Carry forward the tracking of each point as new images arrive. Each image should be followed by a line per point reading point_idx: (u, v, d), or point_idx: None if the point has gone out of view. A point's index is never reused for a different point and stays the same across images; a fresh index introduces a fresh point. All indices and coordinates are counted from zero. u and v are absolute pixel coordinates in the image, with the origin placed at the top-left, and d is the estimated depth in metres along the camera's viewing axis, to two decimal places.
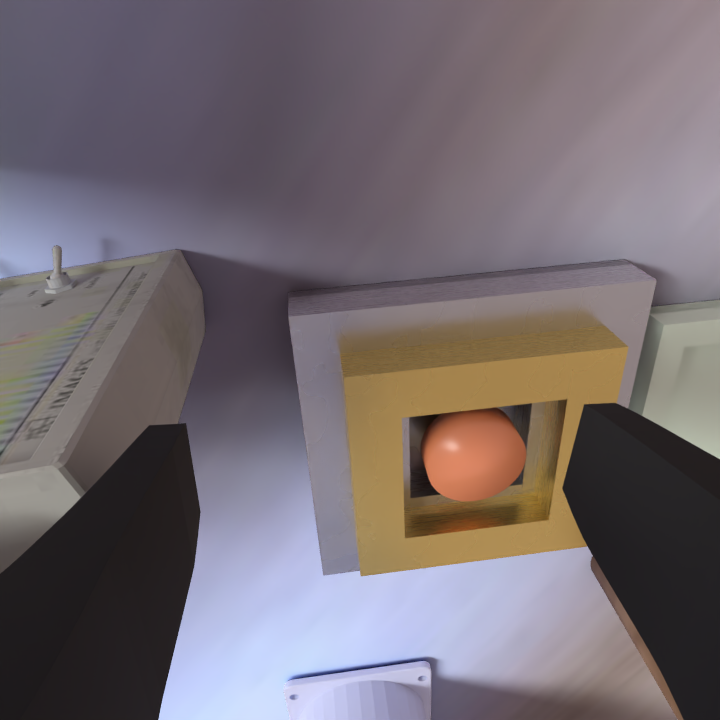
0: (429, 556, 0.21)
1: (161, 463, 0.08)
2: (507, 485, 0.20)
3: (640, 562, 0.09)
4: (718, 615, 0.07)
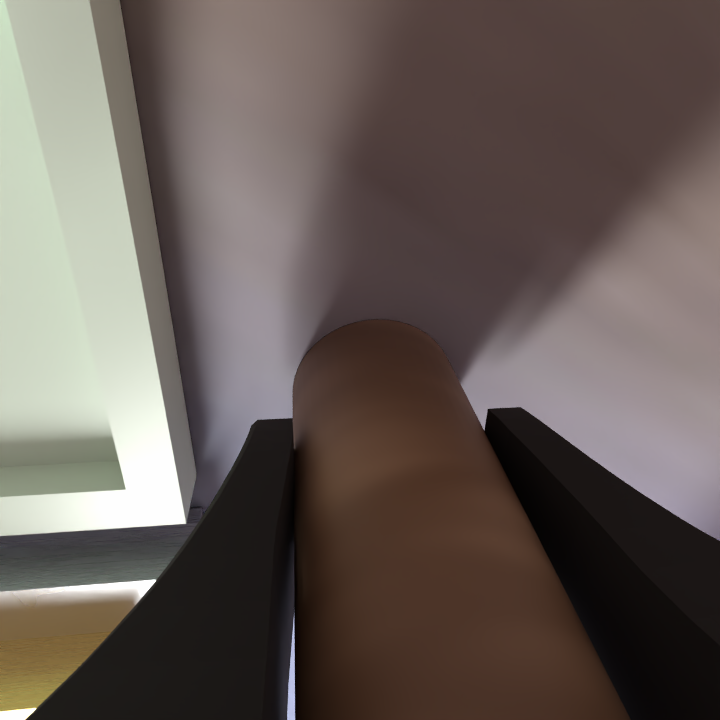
0: None
1: (287, 456, 0.08)
2: None
3: None
4: (587, 627, 0.07)
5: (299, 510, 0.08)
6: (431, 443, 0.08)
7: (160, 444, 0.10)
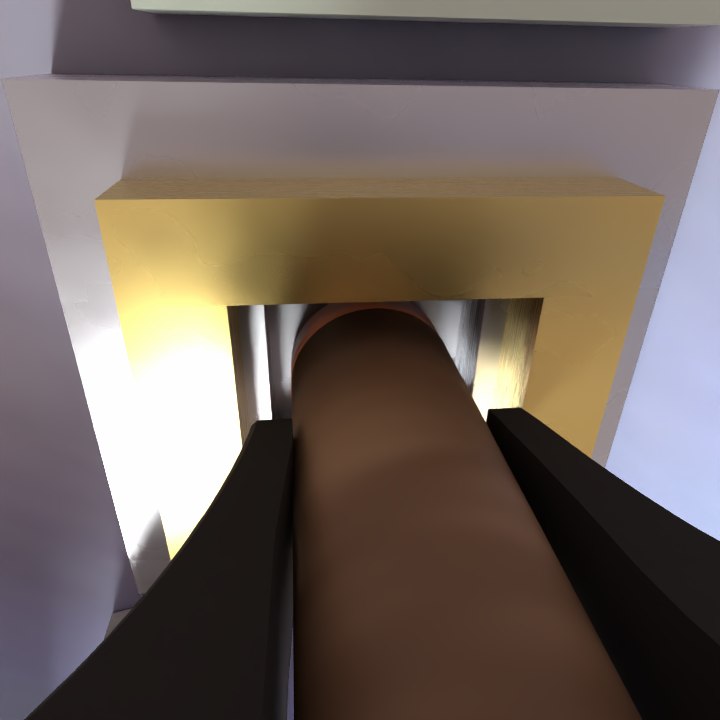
0: None
1: (287, 456, 0.08)
2: None
3: None
4: None
5: (300, 490, 0.08)
6: (437, 428, 0.08)
7: None
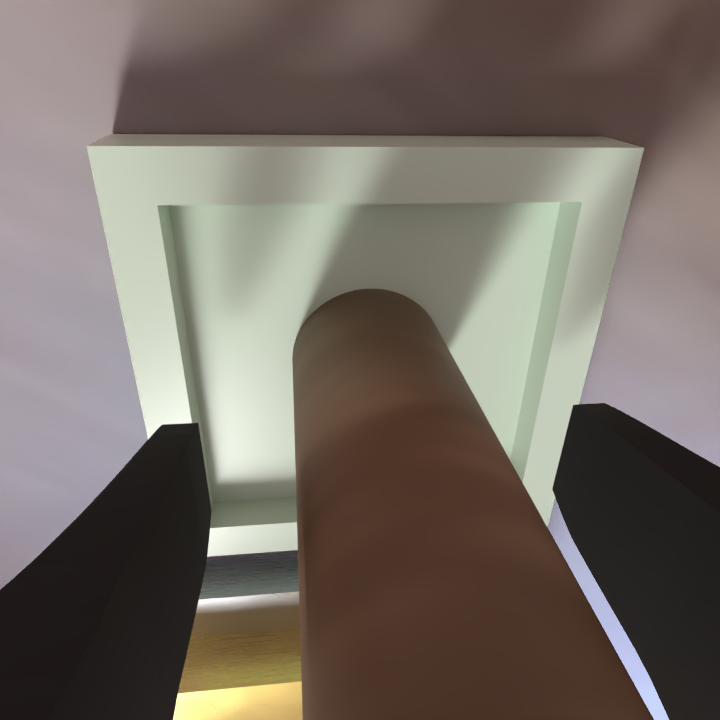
0: None
1: (176, 463, 0.08)
2: None
3: (628, 563, 0.09)
4: (703, 617, 0.07)
5: (303, 444, 0.09)
6: (425, 386, 0.09)
7: (553, 475, 0.14)
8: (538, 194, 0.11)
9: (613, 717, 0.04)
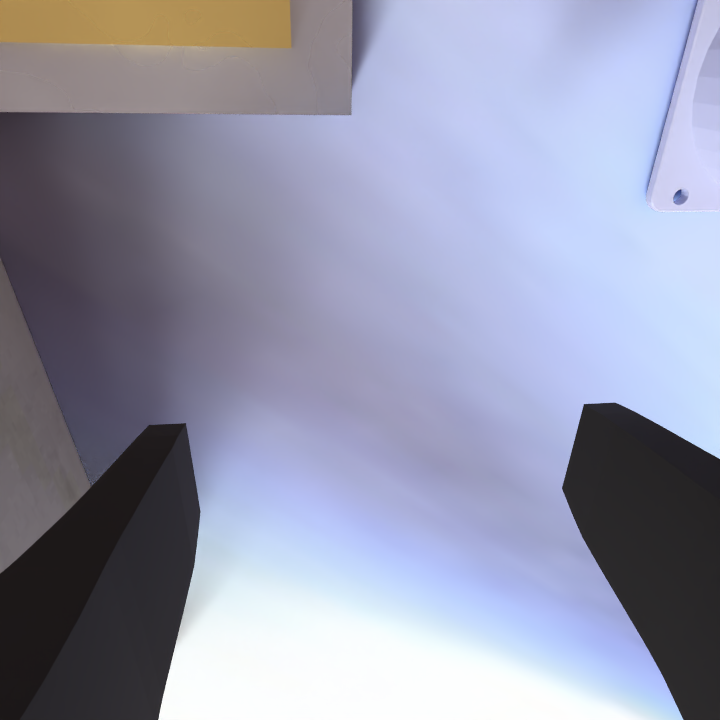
0: None
1: (161, 463, 0.08)
2: None
3: (640, 563, 0.09)
4: (718, 615, 0.07)
5: None
6: None
7: None
8: None
9: None
